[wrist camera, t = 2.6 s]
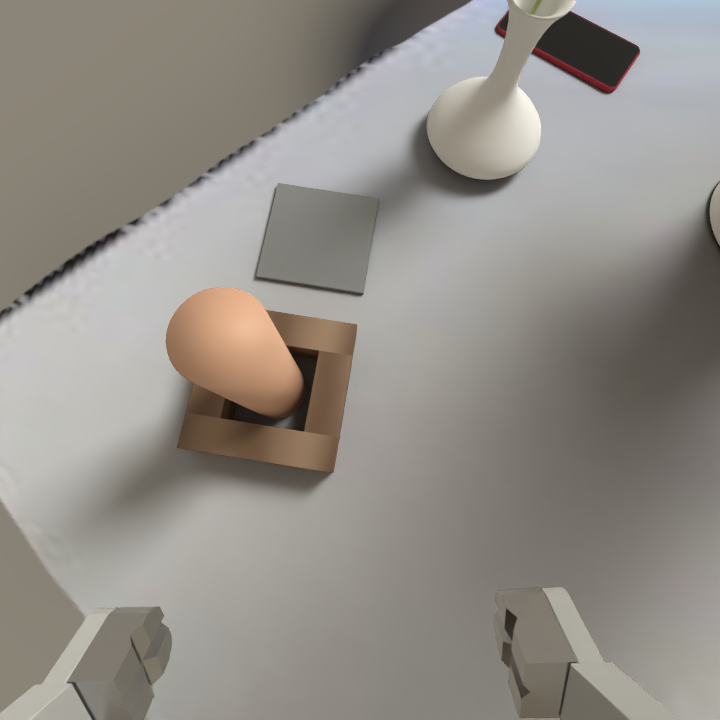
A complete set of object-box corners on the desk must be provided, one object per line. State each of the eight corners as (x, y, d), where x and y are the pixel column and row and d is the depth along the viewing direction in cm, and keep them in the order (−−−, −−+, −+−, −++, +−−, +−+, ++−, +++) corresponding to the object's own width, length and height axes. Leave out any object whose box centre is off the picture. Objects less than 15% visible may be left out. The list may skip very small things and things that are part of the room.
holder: (356, 335, 36) (357, 324, 33) (333, 471, 33) (332, 472, 30) (225, 314, 36) (214, 302, 33) (192, 448, 33) (176, 447, 30)
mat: (378, 201, 39) (378, 198, 39) (363, 294, 37) (363, 292, 36) (278, 185, 39) (277, 183, 39) (256, 277, 37) (255, 275, 36)
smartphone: (526, -13, 46) (643, 48, 44) (523, -4, 47) (637, 56, 45) (494, 26, 44) (614, 91, 42) (491, 35, 45) (609, 98, 43)
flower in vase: (436, 197, 39) (578, -219, 15) (413, 104, 42) (503, -379, 18) (560, 180, 40) (884, -238, 16) (531, 90, 43) (770, -388, 19)
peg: (311, 366, 35) (281, 295, 19) (300, 422, 34) (259, 395, 18) (255, 357, 35) (181, 279, 19) (242, 413, 34) (153, 378, 18)
